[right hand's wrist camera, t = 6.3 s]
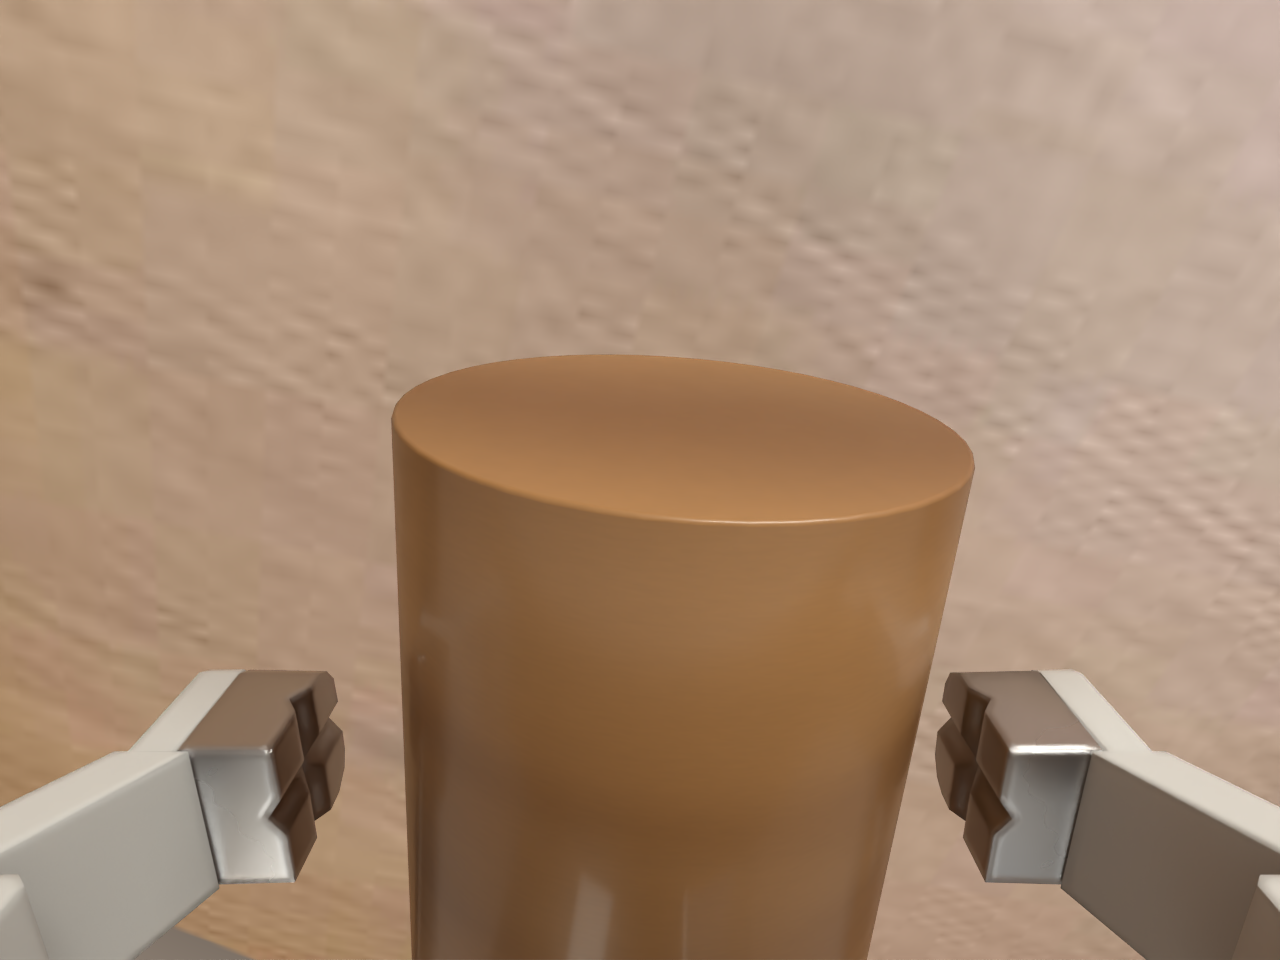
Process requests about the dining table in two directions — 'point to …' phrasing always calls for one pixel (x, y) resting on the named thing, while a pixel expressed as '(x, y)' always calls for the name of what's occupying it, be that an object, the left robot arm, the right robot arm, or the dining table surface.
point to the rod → (662, 654)
